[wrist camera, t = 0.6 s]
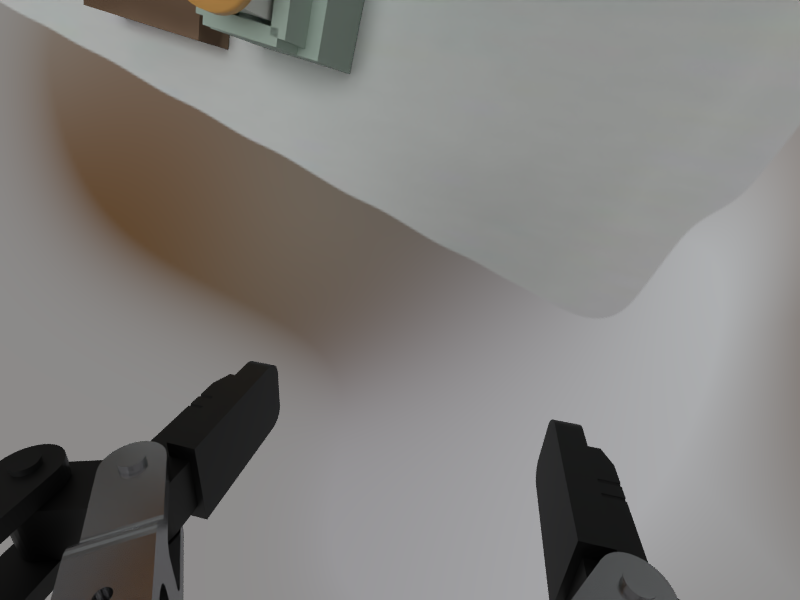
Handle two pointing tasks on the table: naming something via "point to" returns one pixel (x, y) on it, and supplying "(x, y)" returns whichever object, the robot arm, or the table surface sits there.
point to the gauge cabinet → (299, 29)
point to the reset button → (237, 7)
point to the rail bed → (165, 17)
